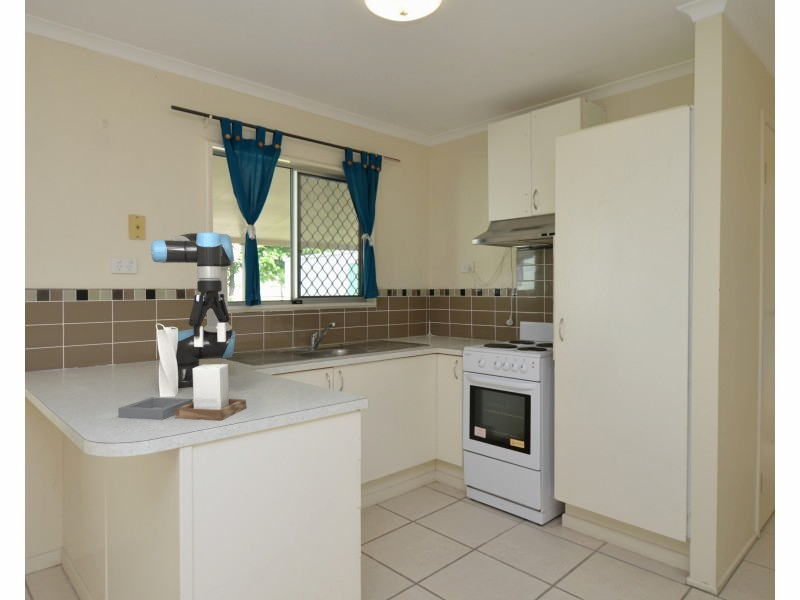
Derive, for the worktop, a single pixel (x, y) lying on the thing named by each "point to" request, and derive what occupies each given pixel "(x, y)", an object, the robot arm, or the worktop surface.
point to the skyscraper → (168, 361)
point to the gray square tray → (148, 412)
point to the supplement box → (210, 386)
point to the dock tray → (210, 411)
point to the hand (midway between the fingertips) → (210, 344)
